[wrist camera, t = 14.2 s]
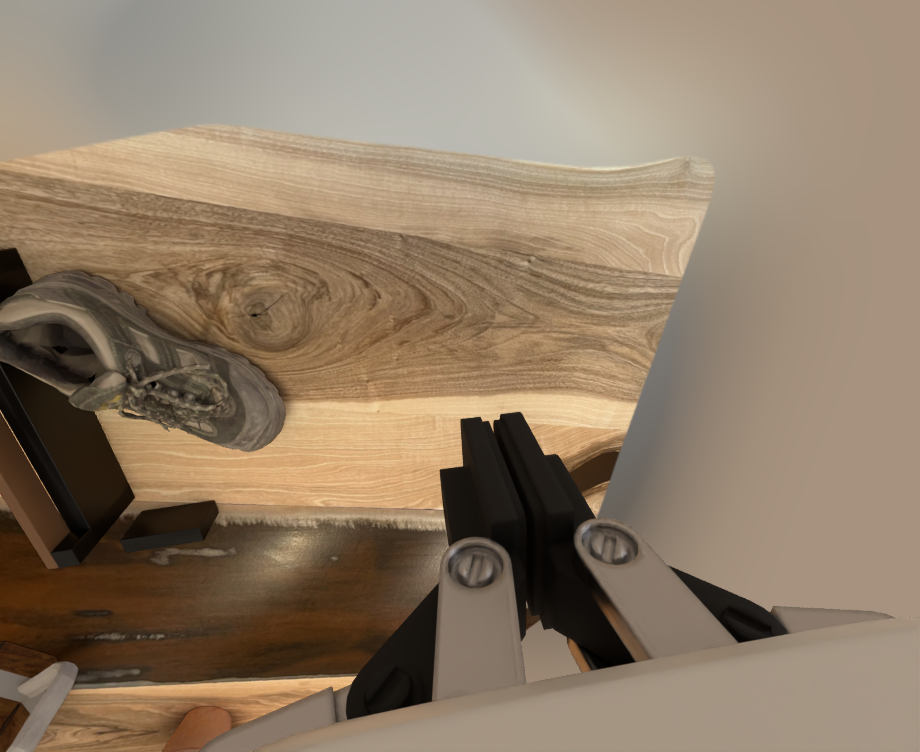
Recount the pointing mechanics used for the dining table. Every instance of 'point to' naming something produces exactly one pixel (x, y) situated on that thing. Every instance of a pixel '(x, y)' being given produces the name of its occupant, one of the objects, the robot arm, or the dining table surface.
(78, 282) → the hiking shoe
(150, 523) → the shoe rack
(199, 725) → the potted plant
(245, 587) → the dining table surface
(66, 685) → the mug
